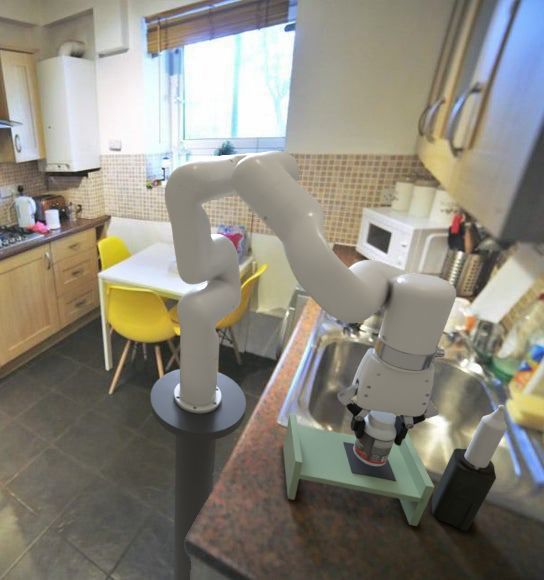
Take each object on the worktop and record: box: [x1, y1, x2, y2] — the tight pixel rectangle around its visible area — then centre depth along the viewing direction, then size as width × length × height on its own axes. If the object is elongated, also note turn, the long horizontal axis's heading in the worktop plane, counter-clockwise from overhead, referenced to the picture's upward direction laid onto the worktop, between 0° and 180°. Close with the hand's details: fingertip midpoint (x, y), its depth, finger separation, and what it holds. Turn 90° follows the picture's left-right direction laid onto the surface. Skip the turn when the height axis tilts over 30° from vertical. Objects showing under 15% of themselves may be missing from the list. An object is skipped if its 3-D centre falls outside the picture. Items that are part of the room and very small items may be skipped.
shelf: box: [282, 413, 436, 527], centre depth 69 cm, size 12×21×10 cm, turn 75°
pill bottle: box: [353, 410, 396, 466], centre depth 65 cm, size 5×5×10 cm
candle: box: [431, 404, 508, 531], centre depth 60 cm, size 5×5×25 cm
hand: (375, 435), depth 65 cm, fingers closed on pill bottle, 5 cm apart
